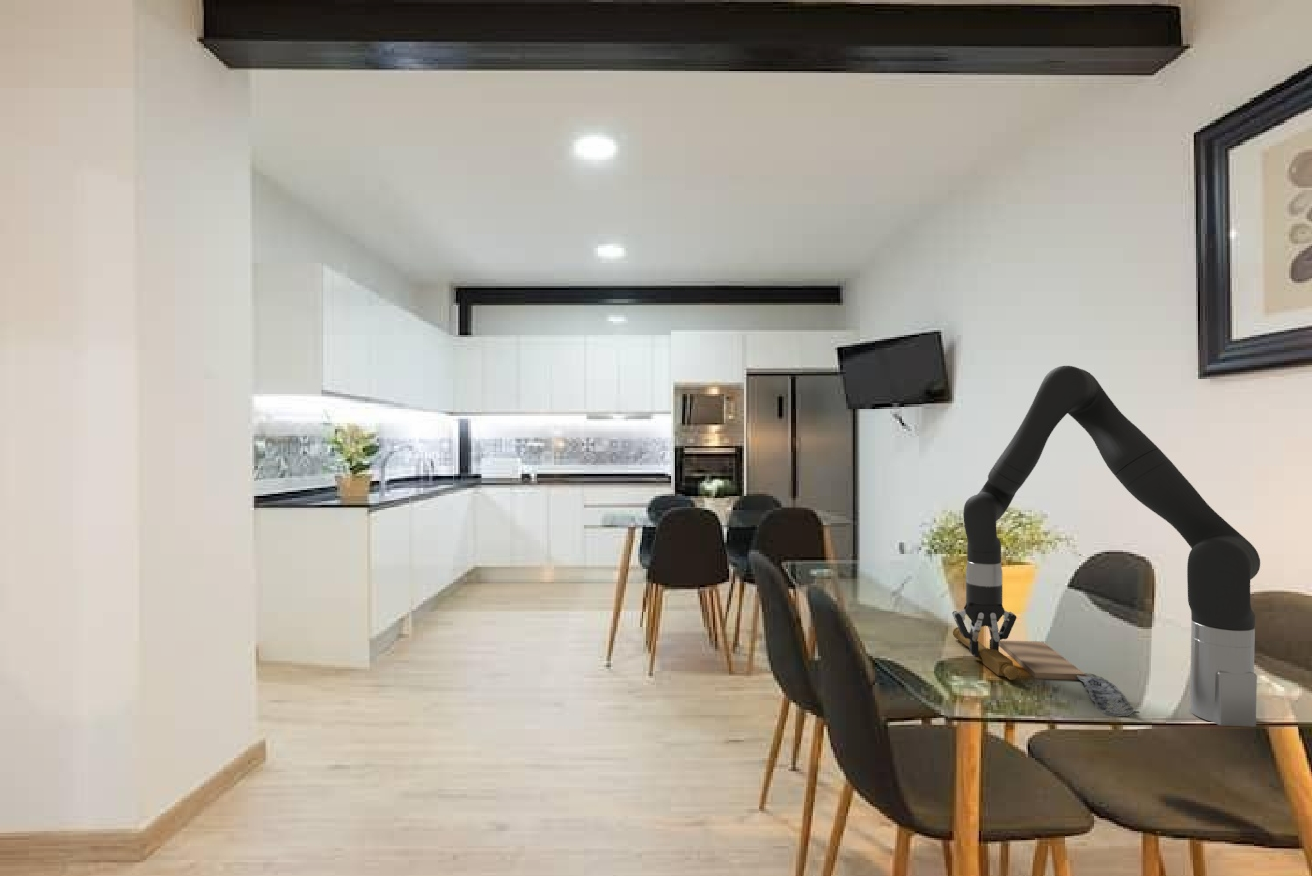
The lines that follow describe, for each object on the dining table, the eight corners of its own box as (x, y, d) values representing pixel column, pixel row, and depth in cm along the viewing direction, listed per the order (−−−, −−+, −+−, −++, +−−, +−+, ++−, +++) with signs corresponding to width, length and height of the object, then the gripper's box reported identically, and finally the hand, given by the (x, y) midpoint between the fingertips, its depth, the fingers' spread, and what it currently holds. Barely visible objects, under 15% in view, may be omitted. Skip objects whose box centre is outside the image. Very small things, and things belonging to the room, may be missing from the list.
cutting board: (1085, 679, 153) (1085, 674, 153) (1035, 678, 154) (1035, 672, 154) (1042, 646, 175) (1042, 641, 175) (998, 645, 176) (998, 640, 176)
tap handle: (964, 626, 181) (1021, 667, 151) (964, 638, 181) (1021, 682, 151) (951, 626, 181) (1006, 667, 151) (951, 638, 181) (1006, 682, 151)
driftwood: (1072, 677, 155) (1071, 667, 155) (1108, 677, 153) (1108, 667, 153) (1098, 718, 136) (1097, 707, 136) (1140, 720, 134) (1139, 709, 134)
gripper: (956, 584, 162) (956, 661, 163) (1023, 585, 161) (1023, 662, 161) (947, 577, 170) (947, 650, 170) (1010, 577, 168) (1010, 651, 169)
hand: (984, 656), depth 166 cm, fingers closed on tap handle, 3 cm apart
